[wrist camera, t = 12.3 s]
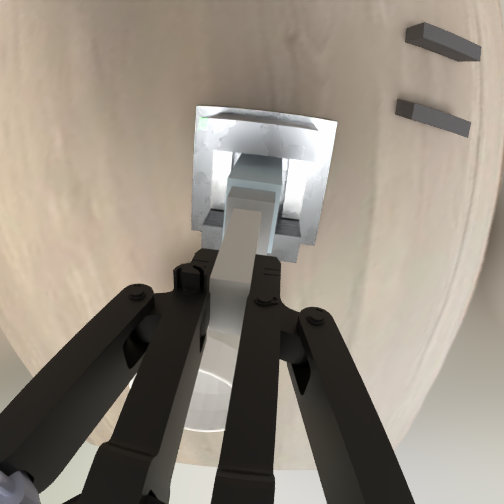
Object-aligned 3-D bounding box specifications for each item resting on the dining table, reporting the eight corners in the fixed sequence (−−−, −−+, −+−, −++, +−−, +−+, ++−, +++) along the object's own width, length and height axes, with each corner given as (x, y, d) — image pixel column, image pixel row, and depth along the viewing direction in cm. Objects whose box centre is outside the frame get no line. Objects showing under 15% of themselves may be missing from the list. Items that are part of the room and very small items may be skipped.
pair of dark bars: (406, 28, 20) (424, 22, 17) (459, 48, 20) (481, 46, 17) (395, 114, 24) (411, 119, 21) (446, 129, 24) (467, 137, 21)
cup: (215, 226, 32) (169, 334, 19) (288, 292, 35) (287, 411, 22) (155, 284, 36) (101, 386, 23) (223, 337, 39) (199, 444, 26)
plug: (242, 152, 27) (222, 187, 19) (282, 157, 27) (282, 196, 18) (236, 204, 30) (216, 261, 21) (274, 210, 30) (270, 268, 21)
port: (197, 105, 26) (181, 110, 21) (336, 121, 25) (347, 129, 21) (192, 227, 32) (178, 252, 27) (313, 243, 31) (318, 271, 27)
